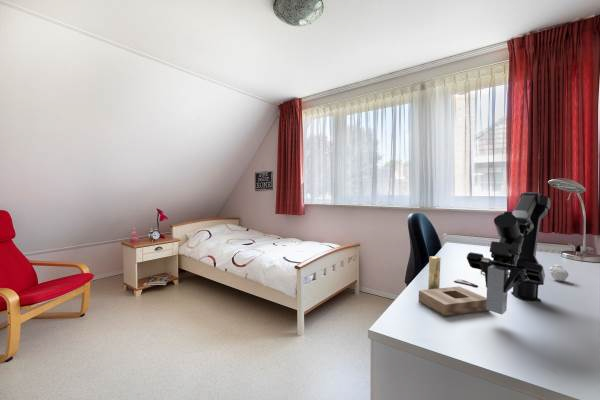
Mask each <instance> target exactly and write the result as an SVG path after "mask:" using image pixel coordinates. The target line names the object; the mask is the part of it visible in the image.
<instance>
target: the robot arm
mask: <svg viewBox="0 0 600 400" xmlns="http://www.w3.org/2000/svg"><path fill="white" fill-rule="evenodd" d="M551 204H552V203H551V199H550V198H549V196H546V195H542V194H541V193H540V192H535V191H533V192H531V191H530V192H529V191H527V192H525V191H524V192H521V193H520V196H519V201H518V203H517V205H515V208H514V210H513V211H504V213H502V214H498V215H497V216H496V217H494V219H493V224H494V226H495V229H496V233H497V235H498V237H499V241H493V240H492V241H491V242H490V246H489V252H490V253H491V254H490V257H491V258H492V259H491V258H489V257H484V255H483V253H477V252H472V251H470V252H469V253H467V255H466V261H467V262H468V265H469V267H470V268H471V269H476V270H480V271H481V270H482V273H484V279H485V287H486V288H487V277H488V267H489V266H491V265H496V266H501V267H506V268H508V271H509V272H510V275H508V279H507V282H506V284H505V287H504V293H506V292H507V293H508V292H509V291H510V290H511V289H512V291H510V294H512V295H514V296H515V297H517V298H519V299H520V300H522V301H535V302H536V301H538V302H542V299H541V298H539V297H538V296H539V286H544V283H545V282H544V281H545V278H546V273H545V270H544V266H543V265H542V264H540V263H539V262H540V261H538V259H537V257H536V256H537V248H538V240H539V234H540V228H541V227H540V226H541V220H542V219H544V217H546V216H547V214H548V211H549V210H550V208H551Z"/></svg>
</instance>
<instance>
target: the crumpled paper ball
mask: <svg viewBox="0 0 600 400" xmlns="http://www.w3.org/2000/svg"><path fill="white" fill-rule="evenodd" d="M548 271H549V273H550V275H551V277H552V279H554V280H555V281H558V282H564V281H566V280H567V278H568V277H569V276H570V274H569V272H568V271H567V269H566V268H564V267H563V266H562V265H560V264H552V265H551V266H549V269H548Z"/></svg>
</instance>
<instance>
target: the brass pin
mask: <svg viewBox="0 0 600 400" xmlns="http://www.w3.org/2000/svg"><path fill="white" fill-rule="evenodd" d="M428 258H429V260H428V262H429V263H428V284H427V285H428V286H427V287H428V289H438V288H440V282H441V281H440V280H441V257H440V256H433V255H432V256H431V255H430V256H428ZM428 289H427V290H428Z"/></svg>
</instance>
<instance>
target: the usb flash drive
mask: <svg viewBox="0 0 600 400" xmlns="http://www.w3.org/2000/svg"><path fill="white" fill-rule="evenodd" d="M453 282H458V283H462V284H465V285H467V286H469V287H473V288H478V287H479V285H477V284H475V283H473V282H470V281H467V280H463V279H460V278H459V279H455V280H454V281H453Z"/></svg>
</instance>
